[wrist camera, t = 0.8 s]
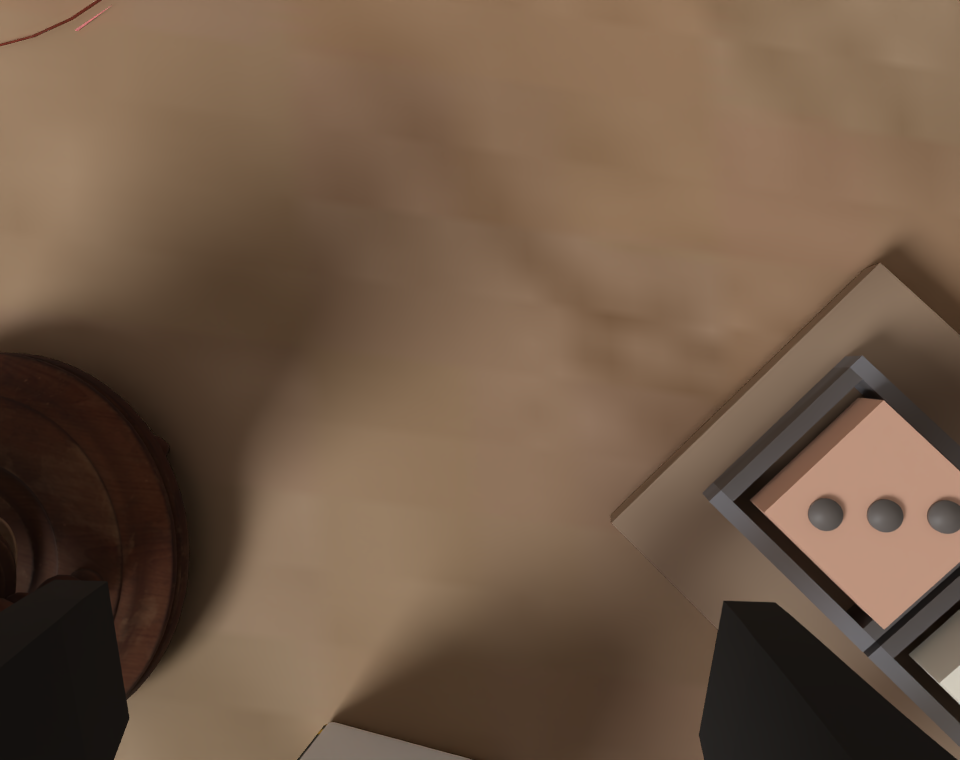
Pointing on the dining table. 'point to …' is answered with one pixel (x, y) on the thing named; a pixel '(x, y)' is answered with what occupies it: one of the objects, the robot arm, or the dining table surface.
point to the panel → (776, 442)
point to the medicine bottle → (366, 746)
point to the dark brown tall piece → (90, 504)
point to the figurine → (60, 24)
